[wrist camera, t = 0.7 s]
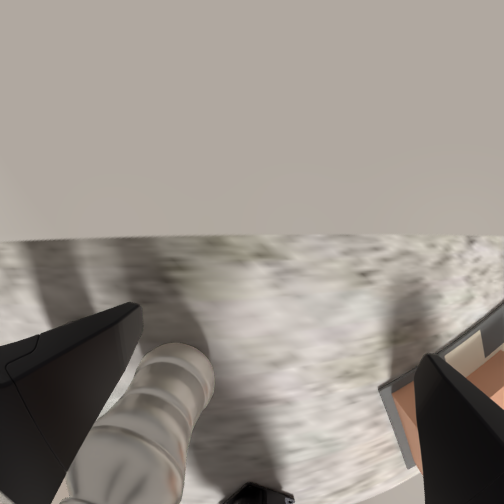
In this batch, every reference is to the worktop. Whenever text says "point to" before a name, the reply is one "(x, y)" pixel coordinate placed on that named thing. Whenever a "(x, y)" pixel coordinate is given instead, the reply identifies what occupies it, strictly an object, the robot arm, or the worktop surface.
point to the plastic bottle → (145, 433)
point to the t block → (485, 378)
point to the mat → (460, 358)
